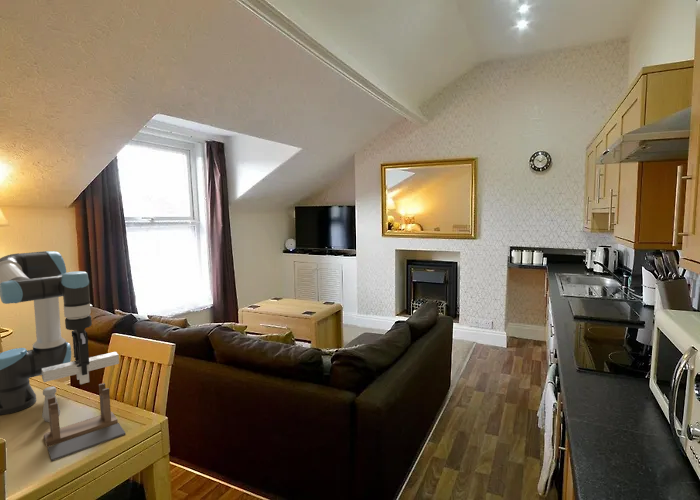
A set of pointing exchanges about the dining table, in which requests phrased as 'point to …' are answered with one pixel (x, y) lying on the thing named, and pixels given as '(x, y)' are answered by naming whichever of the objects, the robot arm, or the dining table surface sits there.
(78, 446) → the rubber mat
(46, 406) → the salt shaker
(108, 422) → the bracket stand
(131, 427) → the dining table surface
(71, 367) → the metal rail
